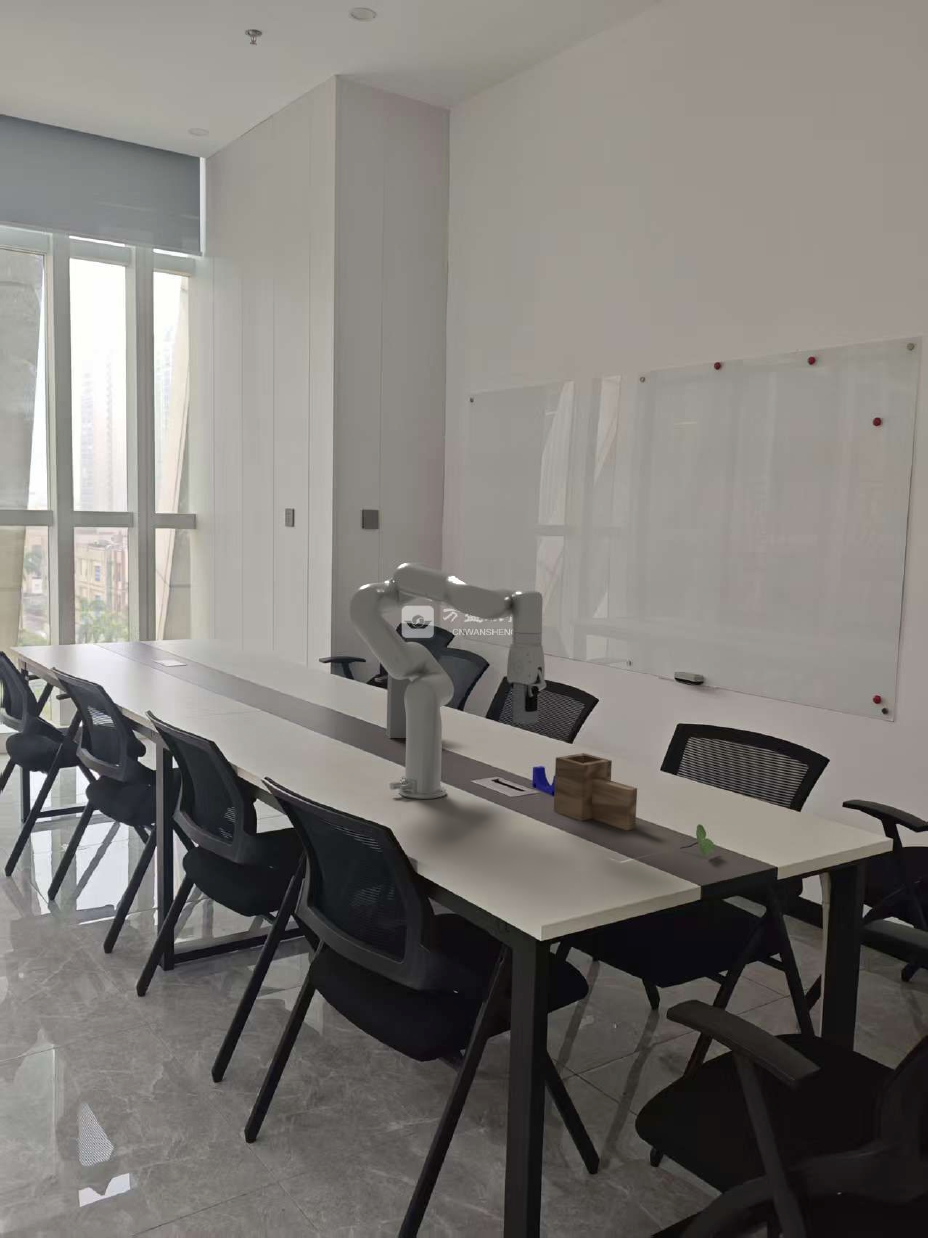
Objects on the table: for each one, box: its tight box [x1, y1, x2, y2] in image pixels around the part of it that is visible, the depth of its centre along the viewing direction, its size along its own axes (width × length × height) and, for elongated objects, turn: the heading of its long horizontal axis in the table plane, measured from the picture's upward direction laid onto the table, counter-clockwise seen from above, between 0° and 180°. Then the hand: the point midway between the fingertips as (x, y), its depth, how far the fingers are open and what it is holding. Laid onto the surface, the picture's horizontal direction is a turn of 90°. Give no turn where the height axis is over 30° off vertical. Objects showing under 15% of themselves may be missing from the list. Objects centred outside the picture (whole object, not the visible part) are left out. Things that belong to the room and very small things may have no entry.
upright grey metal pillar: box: [512, 682, 540, 725], centre depth 264 cm, size 5×4×11 cm
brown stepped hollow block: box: [553, 752, 638, 831], centre depth 257 cm, size 10×22×14 cm, turn 38°
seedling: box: [679, 824, 716, 857], centre depth 233 cm, size 7×8×7 cm
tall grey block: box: [385, 672, 411, 739], centre depth 345 cm, size 14×6×25 cm, turn 108°
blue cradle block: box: [531, 765, 555, 797], centre depth 282 cm, size 12×4×6 cm, turn 28°
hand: (525, 709), depth 264 cm, fingers closed on upright grey metal pillar, 4 cm apart
